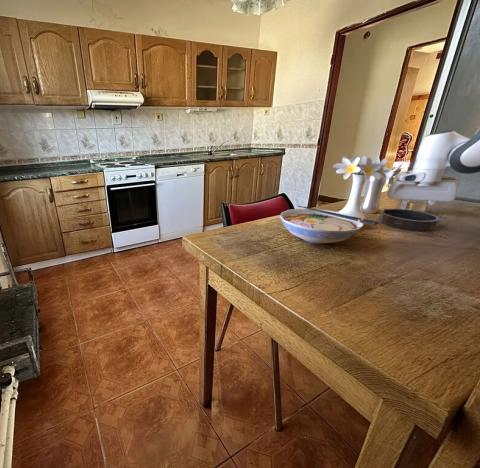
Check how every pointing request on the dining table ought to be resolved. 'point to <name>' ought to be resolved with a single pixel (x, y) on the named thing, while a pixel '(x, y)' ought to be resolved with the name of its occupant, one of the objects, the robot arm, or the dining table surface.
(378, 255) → the dining table surface
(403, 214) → the pan
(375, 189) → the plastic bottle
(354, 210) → the flower vase
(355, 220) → the ramen bowl
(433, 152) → the robot arm
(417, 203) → the block
